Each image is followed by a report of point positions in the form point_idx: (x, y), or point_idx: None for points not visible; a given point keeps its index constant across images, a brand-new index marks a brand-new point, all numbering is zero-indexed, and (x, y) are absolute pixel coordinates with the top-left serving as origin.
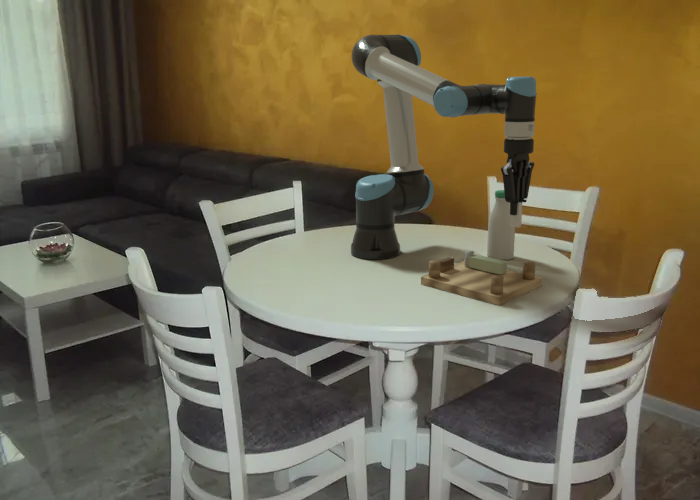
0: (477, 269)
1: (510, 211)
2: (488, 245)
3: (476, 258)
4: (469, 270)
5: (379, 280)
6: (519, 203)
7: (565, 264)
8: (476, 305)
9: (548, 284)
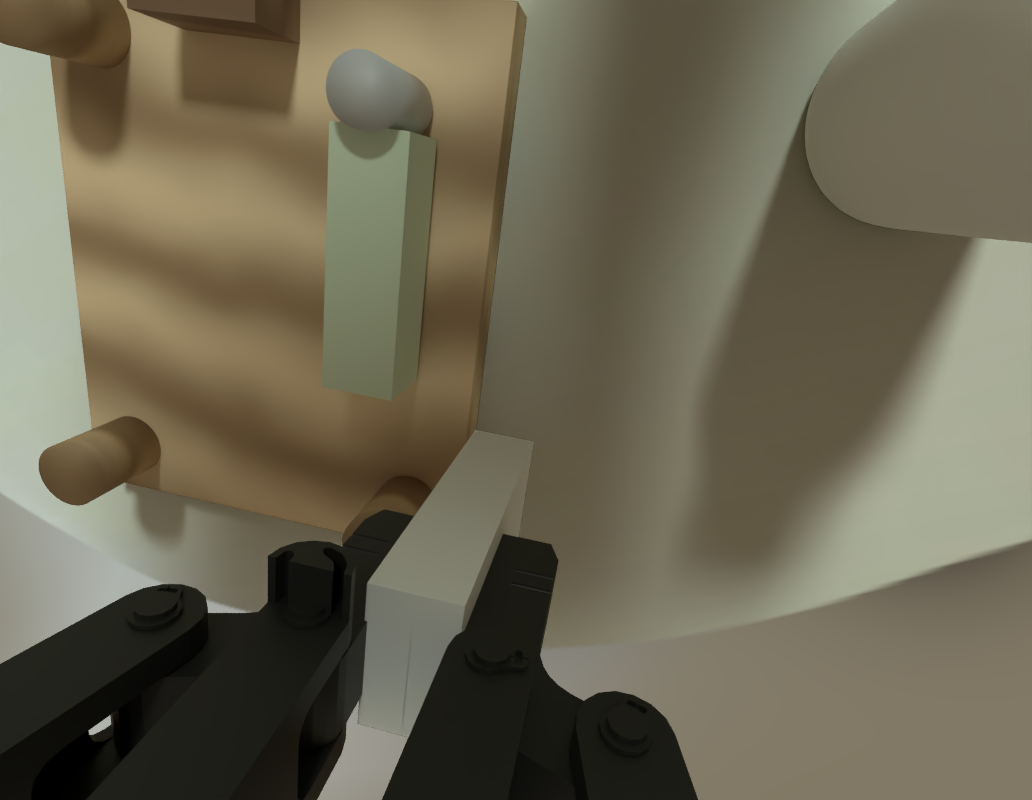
0: None
1: (356, 537)
2: (882, 14)
3: (328, 190)
4: None
5: None
6: (364, 724)
7: (917, 555)
8: (64, 381)
9: None
